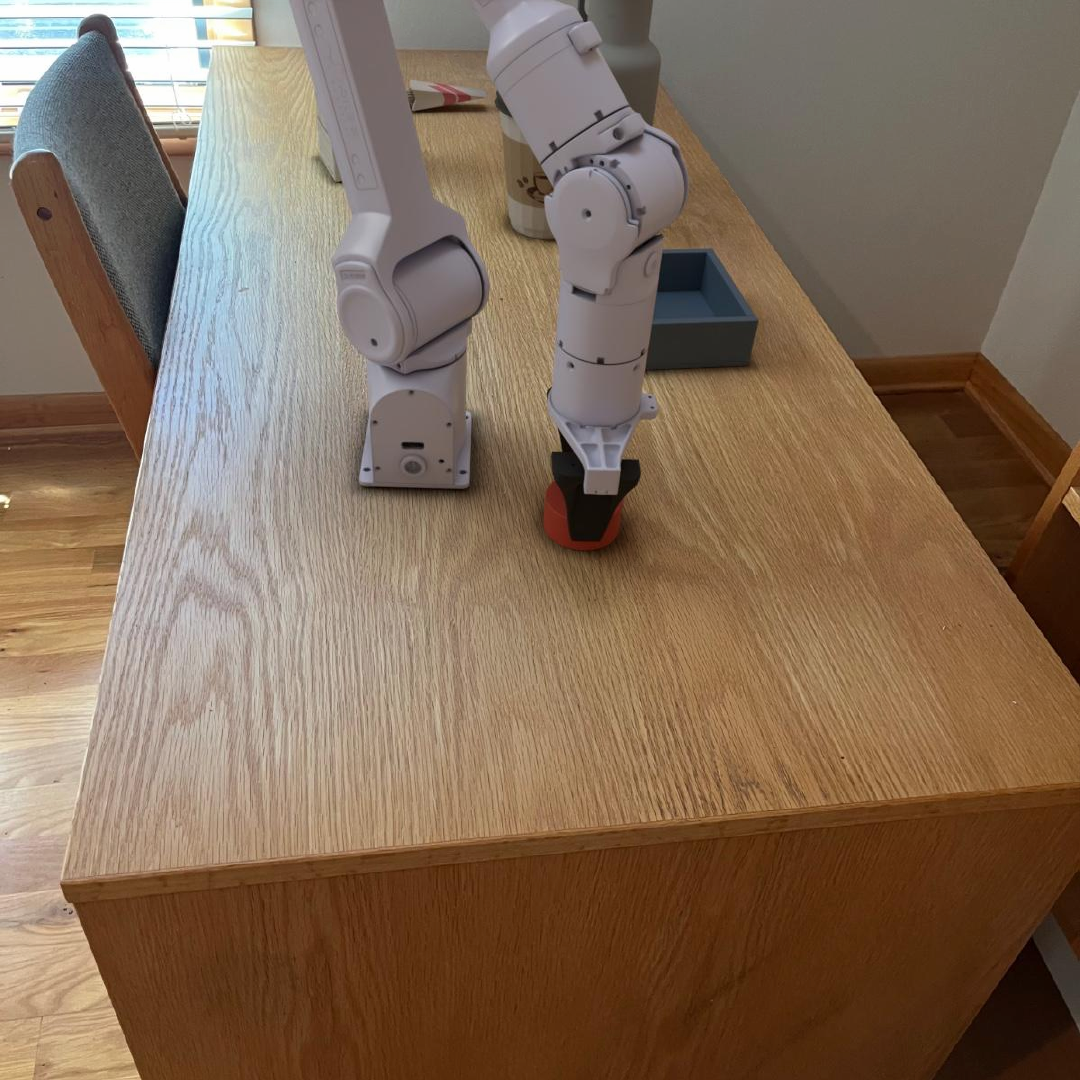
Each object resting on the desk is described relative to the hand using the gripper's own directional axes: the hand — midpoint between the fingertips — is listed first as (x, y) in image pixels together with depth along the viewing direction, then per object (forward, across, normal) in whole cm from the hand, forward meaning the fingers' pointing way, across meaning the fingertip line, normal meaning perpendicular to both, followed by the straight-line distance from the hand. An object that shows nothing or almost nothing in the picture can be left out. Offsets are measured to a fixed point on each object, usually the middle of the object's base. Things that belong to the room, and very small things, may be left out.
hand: (582, 510), depth 72 cm
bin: (+1, +28, -9) cm, 29 cm away
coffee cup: (+2, +49, +1) cm, 49 cm away
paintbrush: (0, +82, +17) cm, 84 cm away
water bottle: (+2, +60, -6) cm, 60 cm away
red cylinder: (+1, 0, 0) cm, 1 cm away
